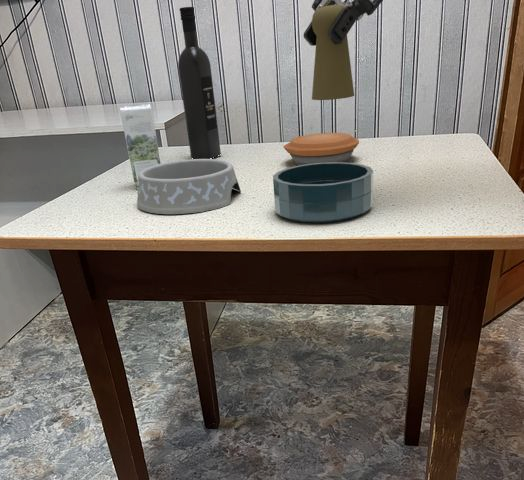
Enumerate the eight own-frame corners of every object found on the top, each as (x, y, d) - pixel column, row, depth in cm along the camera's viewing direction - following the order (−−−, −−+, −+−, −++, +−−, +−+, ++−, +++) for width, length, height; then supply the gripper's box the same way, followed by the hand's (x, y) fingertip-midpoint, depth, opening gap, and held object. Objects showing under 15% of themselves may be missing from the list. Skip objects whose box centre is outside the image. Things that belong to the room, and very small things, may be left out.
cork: (343, 99, 72) (342, 3, 67) (304, 100, 75) (299, 8, 70) (361, 93, 77) (361, 2, 71) (323, 95, 80) (320, 7, 74)
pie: (369, 153, 115) (369, 128, 112) (344, 170, 103) (343, 143, 101) (303, 153, 122) (301, 129, 119) (272, 168, 110) (270, 143, 107)
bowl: (346, 192, 89) (345, 158, 87) (390, 213, 77) (391, 174, 75) (263, 206, 86) (260, 171, 83) (295, 231, 74) (293, 191, 71)
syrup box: (163, 180, 109) (150, 102, 102) (165, 186, 104) (151, 105, 97) (135, 184, 108) (119, 105, 101) (135, 190, 103) (119, 108, 96)
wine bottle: (223, 155, 127) (205, 5, 112) (209, 160, 123) (189, 6, 108) (203, 155, 130) (184, 8, 115) (189, 160, 126) (167, 9, 110)
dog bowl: (249, 184, 100) (246, 154, 97) (223, 214, 84) (218, 179, 82) (163, 187, 103) (158, 158, 101) (123, 216, 88) (116, 183, 85)
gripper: (344, -87, 73) (275, 22, 75) (417, -114, 62) (334, 14, 64) (374, -41, 78) (308, 61, 80) (447, -59, 67) (369, 60, 69)
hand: (320, 40), depth 72 cm, fingers closed on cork, 5 cm apart
